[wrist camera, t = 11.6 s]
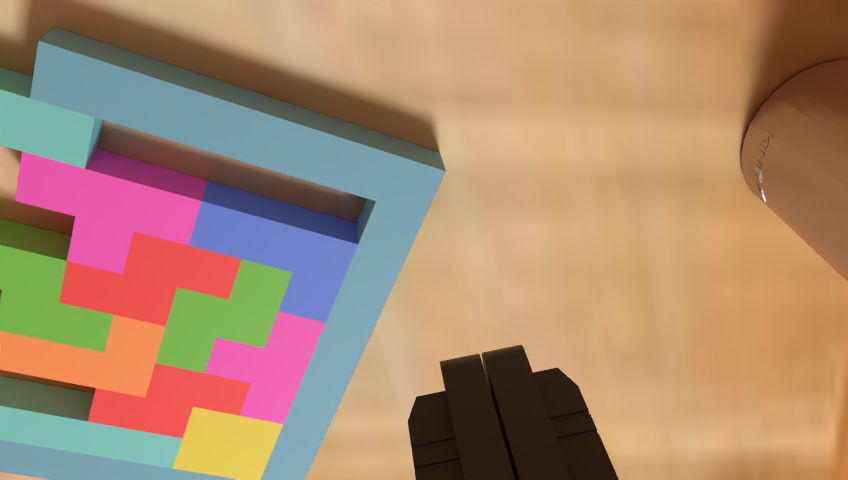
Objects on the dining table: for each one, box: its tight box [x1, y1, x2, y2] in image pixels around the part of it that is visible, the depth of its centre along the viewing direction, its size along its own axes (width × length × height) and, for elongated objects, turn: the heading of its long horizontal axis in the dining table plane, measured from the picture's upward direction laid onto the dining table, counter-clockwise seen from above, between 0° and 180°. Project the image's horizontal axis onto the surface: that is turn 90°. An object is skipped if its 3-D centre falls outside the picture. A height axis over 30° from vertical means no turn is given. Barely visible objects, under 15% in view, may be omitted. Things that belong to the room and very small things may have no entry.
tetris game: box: [0, 26, 446, 480], centre depth 41 cm, size 28×3×28 cm
